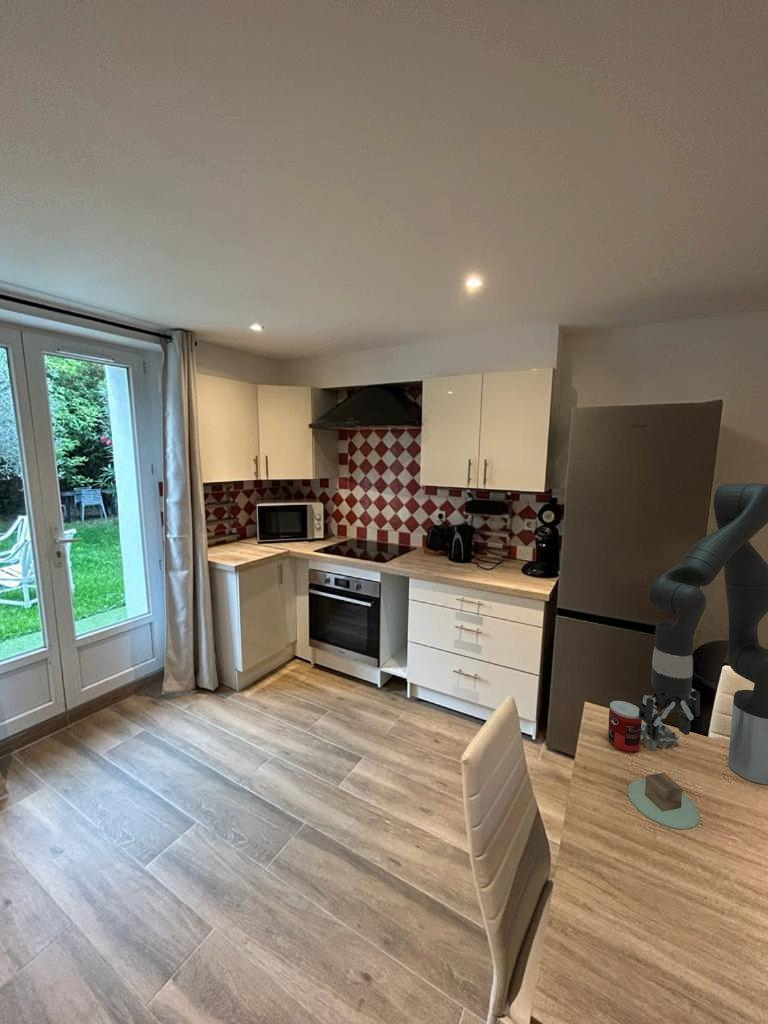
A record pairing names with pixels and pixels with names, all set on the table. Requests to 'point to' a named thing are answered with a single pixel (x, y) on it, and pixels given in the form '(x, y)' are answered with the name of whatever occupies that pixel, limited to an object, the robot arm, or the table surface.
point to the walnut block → (663, 791)
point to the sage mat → (673, 818)
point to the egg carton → (659, 737)
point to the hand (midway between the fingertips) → (668, 735)
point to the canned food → (624, 726)
